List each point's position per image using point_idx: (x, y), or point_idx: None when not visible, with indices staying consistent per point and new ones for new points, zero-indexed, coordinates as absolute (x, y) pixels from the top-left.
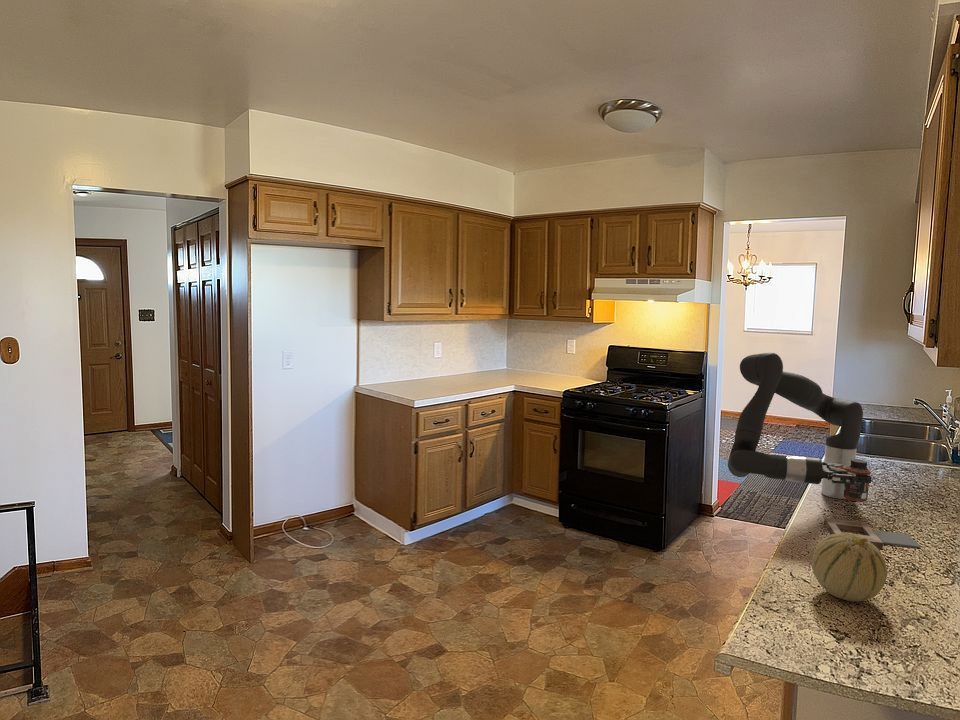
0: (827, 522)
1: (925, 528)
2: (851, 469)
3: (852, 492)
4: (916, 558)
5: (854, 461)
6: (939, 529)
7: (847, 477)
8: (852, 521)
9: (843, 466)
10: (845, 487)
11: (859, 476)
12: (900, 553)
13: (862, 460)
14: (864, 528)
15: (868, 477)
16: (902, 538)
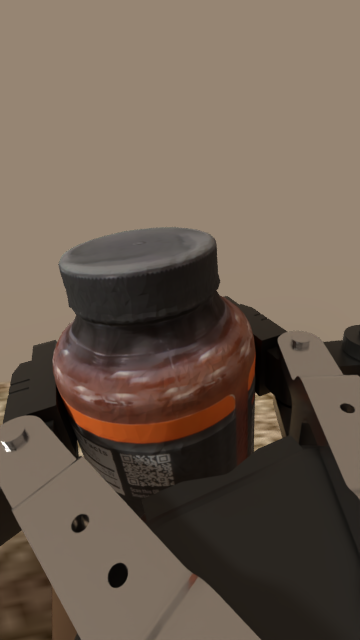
0: None
1: (3, 417)
2: (241, 344)
3: None
4: (258, 403)
5: (207, 251)
6: (3, 397)
7: (232, 443)
8: (60, 617)
9: (12, 469)
10: None
11: (278, 332)
12: (256, 432)
13: (110, 240)
14: None
15: (245, 306)
16: None
